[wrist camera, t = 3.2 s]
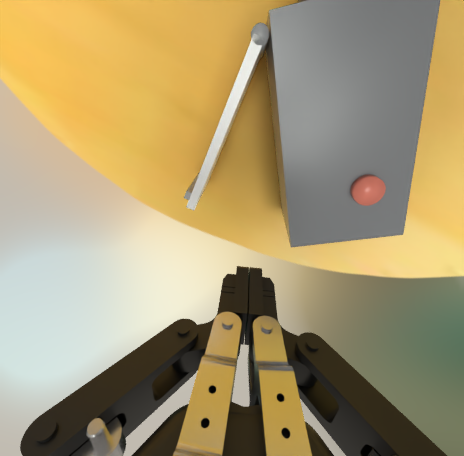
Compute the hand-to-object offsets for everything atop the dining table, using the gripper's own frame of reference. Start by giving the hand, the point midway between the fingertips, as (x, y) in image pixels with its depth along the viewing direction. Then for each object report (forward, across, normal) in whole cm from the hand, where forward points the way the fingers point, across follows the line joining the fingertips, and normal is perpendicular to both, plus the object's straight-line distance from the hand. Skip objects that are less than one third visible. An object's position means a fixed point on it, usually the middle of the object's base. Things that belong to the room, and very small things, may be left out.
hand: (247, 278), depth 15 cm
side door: (+17, +3, -7) cm, 19 cm away
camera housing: (+18, -7, -8) cm, 21 cm away
